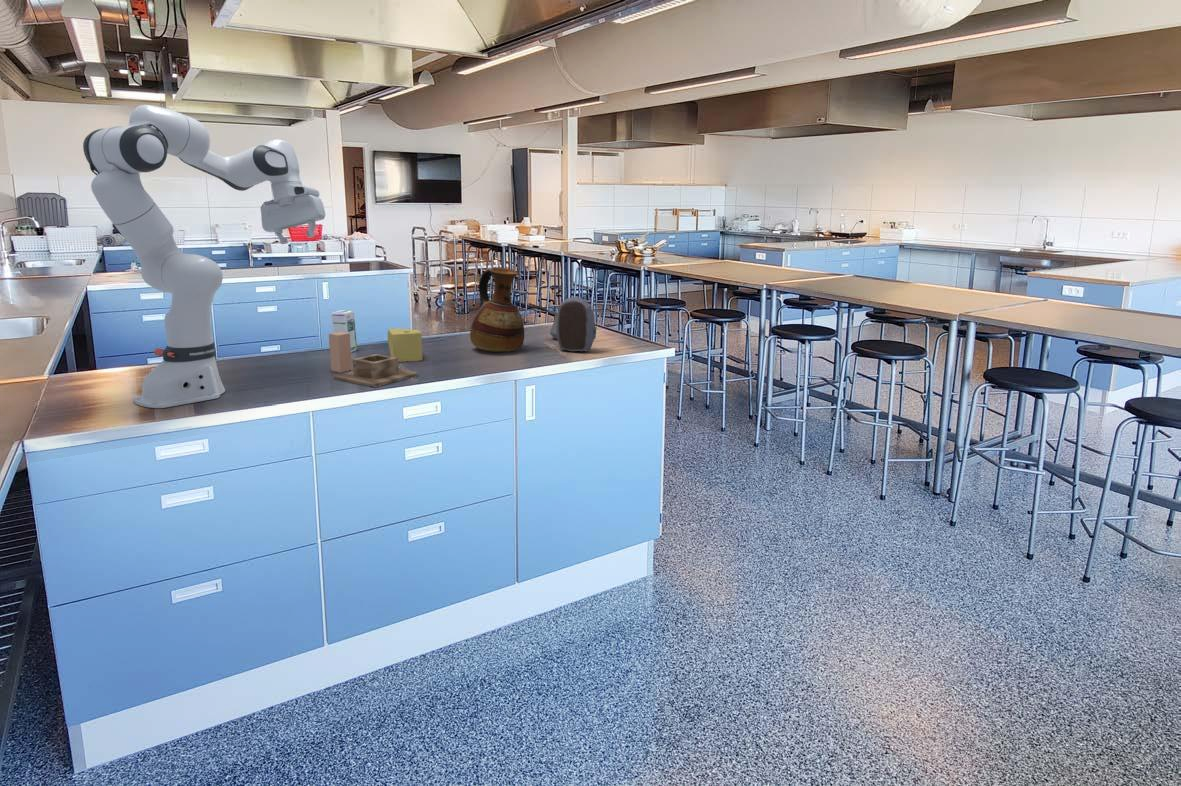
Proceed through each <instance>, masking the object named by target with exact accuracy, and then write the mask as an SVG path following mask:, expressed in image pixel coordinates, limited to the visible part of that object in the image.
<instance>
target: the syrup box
mask: <svg viewBox="0 0 1181 786" xmlns="http://www.w3.org/2000/svg"><path fill="white" fill-rule="evenodd" d="M354 312H355V311H354V310H351V309H350V310H349V309H348V310H347V309H342V310H341V309H340V310H337V311H334V312H331V324H332V333H336V332H345V333H350V346H351V353H353V352H356V351H357V350H358V345H357V331H356V322H355V320H356V319H355V313H354ZM356 345H357V346H356Z"/></svg>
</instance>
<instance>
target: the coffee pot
mask: <svg viewBox="0 0 1181 786" xmlns="http://www.w3.org/2000/svg"><path fill="white" fill-rule="evenodd" d="M526 306H527V309H529V307H530V306H531V307H532V308H535V309H538V310H540V311H543V312H546V313H548V314H551V315H554V316H555V319H554V321H553V323H552V325H551V328H550V330H549V333H550V335H551V337H553V338H554V340H556V339H557V337H556V326H557V313H558V312H554V311H551V310H549V309H546V308H544V307H542V306H540V305H536V304H532V303H529V302H528V303H527V305H526ZM559 306H560V305H558V306H556V309H557V311H558V310H559Z"/></svg>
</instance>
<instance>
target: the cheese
mask: <svg viewBox="0 0 1181 786" xmlns="http://www.w3.org/2000/svg"><path fill="white" fill-rule="evenodd" d="M422 338H423V337H422V332H421V331H420V330H419V329H410V328H398V327H397V328H388V329H387V342H388V349H389V354H390V355H389V356H391V357H396V358H398V363H403V362H407V361H408V362H419V360H422V361H423V344H422V343H423V341H422V340H423V339H422Z"/></svg>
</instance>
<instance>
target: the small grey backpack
mask: <svg viewBox="0 0 1181 786" xmlns="http://www.w3.org/2000/svg"><path fill="white" fill-rule="evenodd" d="M558 306H559V310H558V309H557V312H556V313H557V326H556V337H557V340H556V341H557V343H558V347H559V349H560V350H564V351H566V350H567V352H573V351H580V353H582V351H583V352H588V351H591V348H592V346H593V343H594V341H595V339H596V338H597V327H596V320H595V318H596V317H595V314H594V311H593V309H592V307H593V306H592V305H591V304H590V303H589V302H588V301H587V300H585V299H584V298H582V297H577V296H573V297H568V298H566V299H565V300H563V302H561V303H560V305H558Z"/></svg>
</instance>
